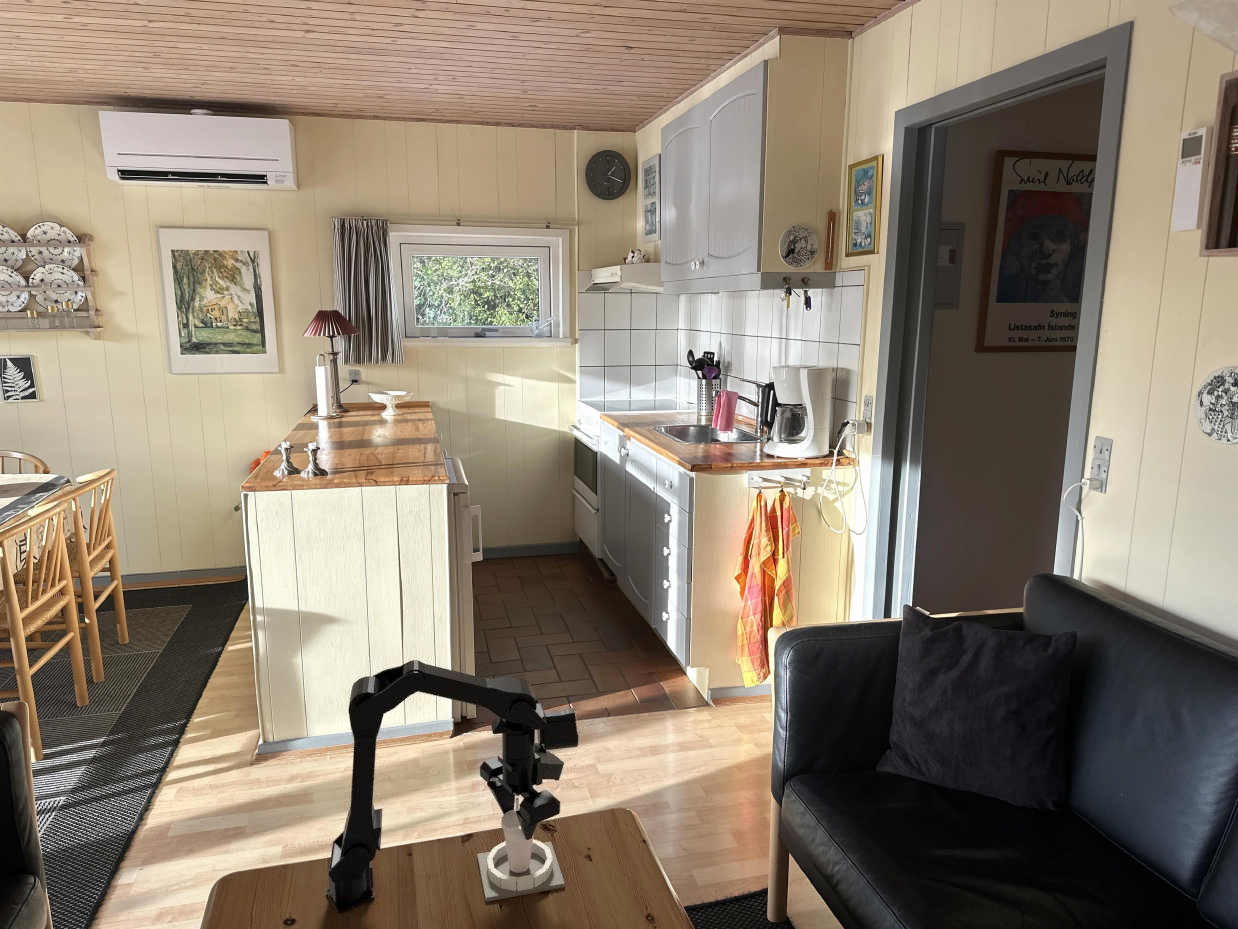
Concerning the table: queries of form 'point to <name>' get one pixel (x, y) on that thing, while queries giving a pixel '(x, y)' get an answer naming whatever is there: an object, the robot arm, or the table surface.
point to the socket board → (511, 884)
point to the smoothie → (516, 842)
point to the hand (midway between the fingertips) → (519, 829)
